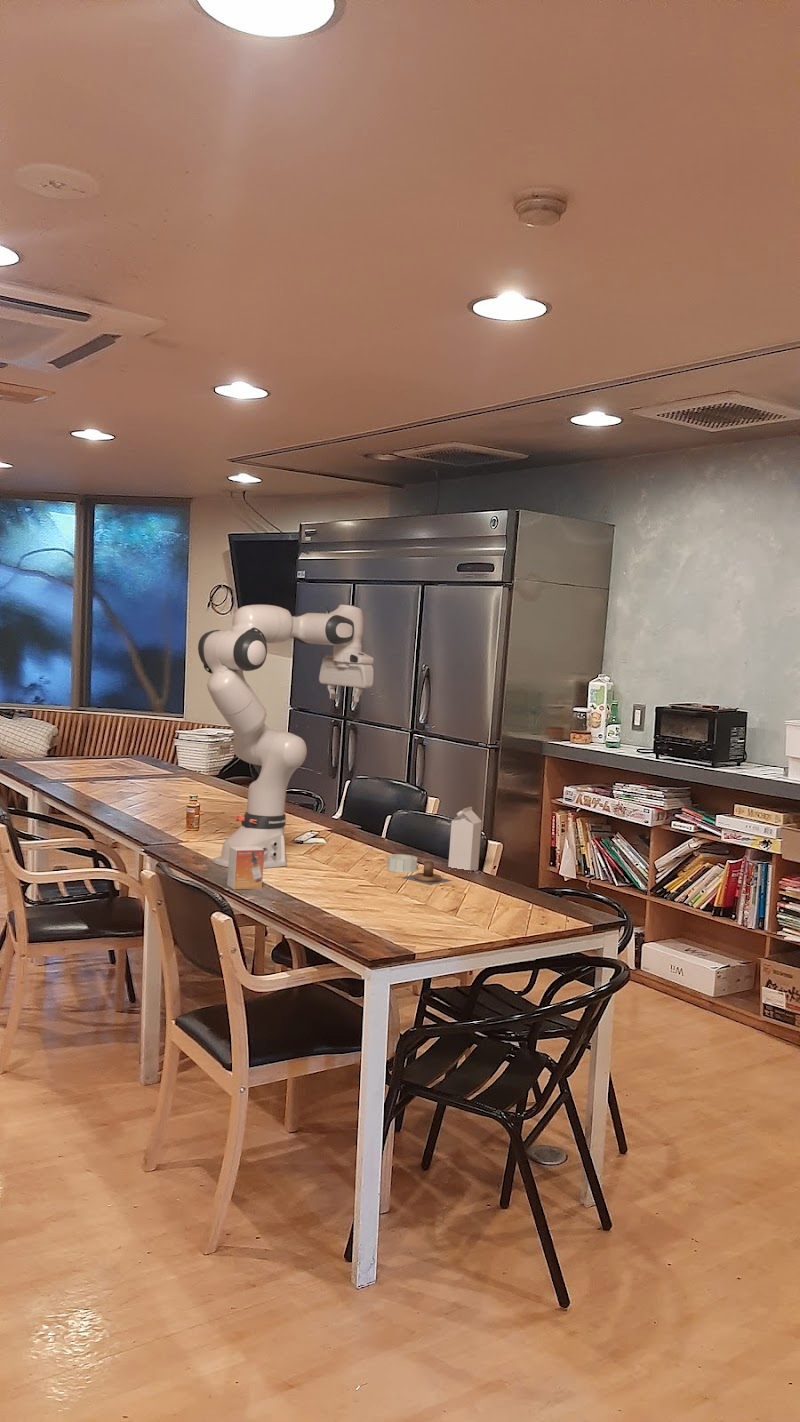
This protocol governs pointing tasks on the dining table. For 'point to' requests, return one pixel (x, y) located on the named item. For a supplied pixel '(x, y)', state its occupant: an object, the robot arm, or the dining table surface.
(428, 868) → the lid
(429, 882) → the mat
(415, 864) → the bowl
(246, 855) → the small box
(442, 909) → the dining table surface
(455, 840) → the milk carton
